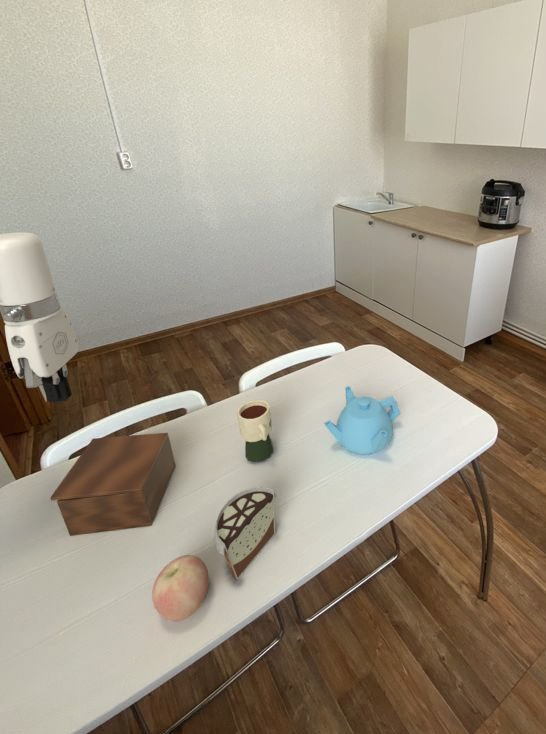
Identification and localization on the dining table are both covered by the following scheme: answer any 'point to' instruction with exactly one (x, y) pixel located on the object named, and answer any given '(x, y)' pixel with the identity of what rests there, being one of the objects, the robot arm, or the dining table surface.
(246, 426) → the character mug
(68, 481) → the lid
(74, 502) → the chest
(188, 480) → the dining table surface
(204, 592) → the apple
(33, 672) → the dining table surface
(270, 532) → the slice of cake
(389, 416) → the teapot
